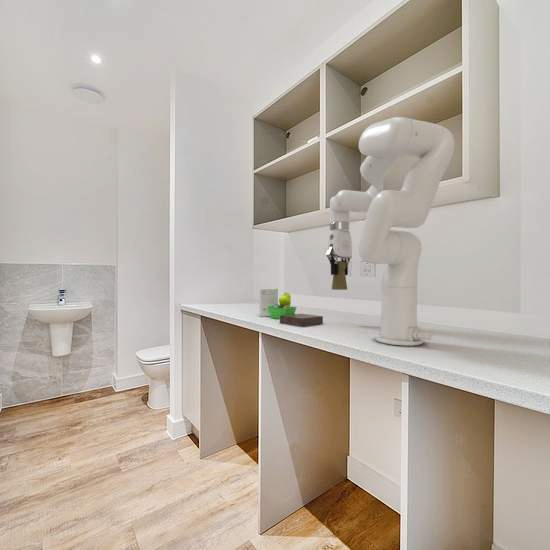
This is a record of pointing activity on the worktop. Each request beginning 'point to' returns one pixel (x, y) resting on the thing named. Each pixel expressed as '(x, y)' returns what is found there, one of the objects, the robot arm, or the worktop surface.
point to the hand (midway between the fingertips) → (339, 274)
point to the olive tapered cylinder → (340, 277)
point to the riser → (301, 319)
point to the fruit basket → (282, 307)
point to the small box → (267, 300)
